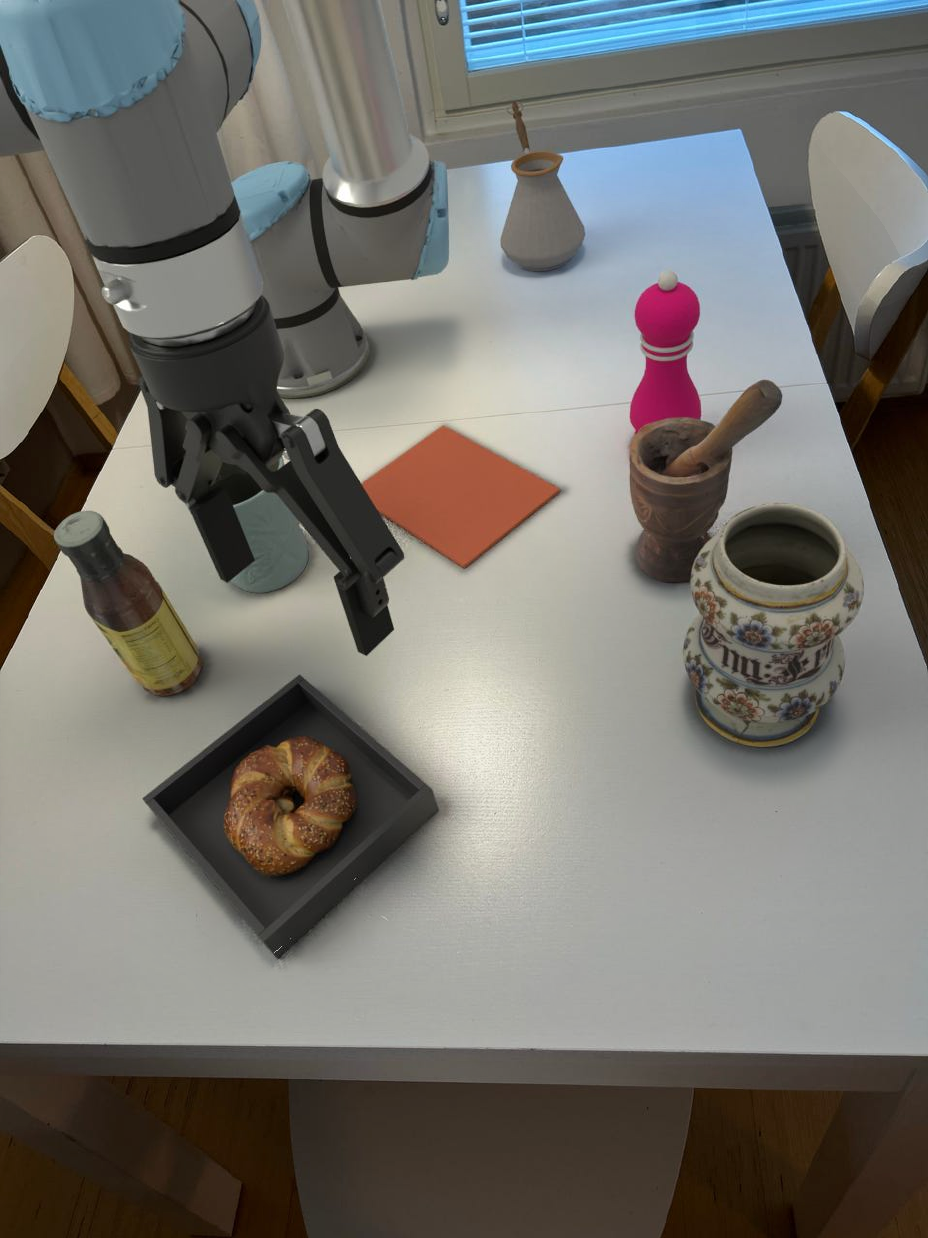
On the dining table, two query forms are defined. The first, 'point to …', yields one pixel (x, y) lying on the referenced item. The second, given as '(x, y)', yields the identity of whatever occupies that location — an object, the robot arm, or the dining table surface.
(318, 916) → the tray
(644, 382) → the pepper mill
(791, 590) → the apothecary jar
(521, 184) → the coffee pot
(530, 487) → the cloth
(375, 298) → the dining table surface
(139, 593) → the sauce bottle
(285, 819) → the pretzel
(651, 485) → the mortar and pestle
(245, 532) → the light blue ceramic cup
